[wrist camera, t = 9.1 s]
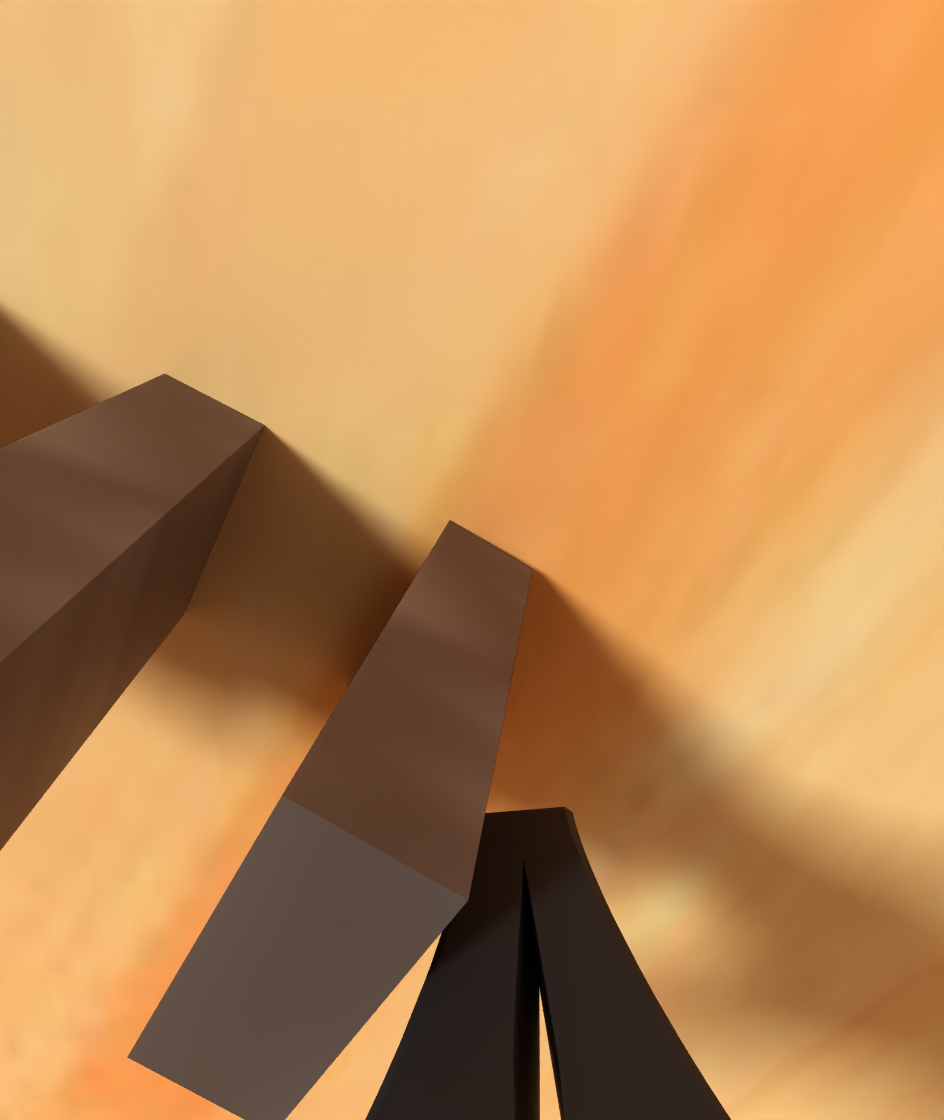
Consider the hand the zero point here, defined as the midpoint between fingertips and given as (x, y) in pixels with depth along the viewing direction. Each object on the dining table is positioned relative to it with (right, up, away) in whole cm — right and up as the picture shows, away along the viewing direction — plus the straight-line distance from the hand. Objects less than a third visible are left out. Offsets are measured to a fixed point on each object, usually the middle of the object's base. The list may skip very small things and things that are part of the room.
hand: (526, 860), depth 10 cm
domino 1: (-6, +5, +3) cm, 9 cm away
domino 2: (-2, +3, +4) cm, 5 cm away
